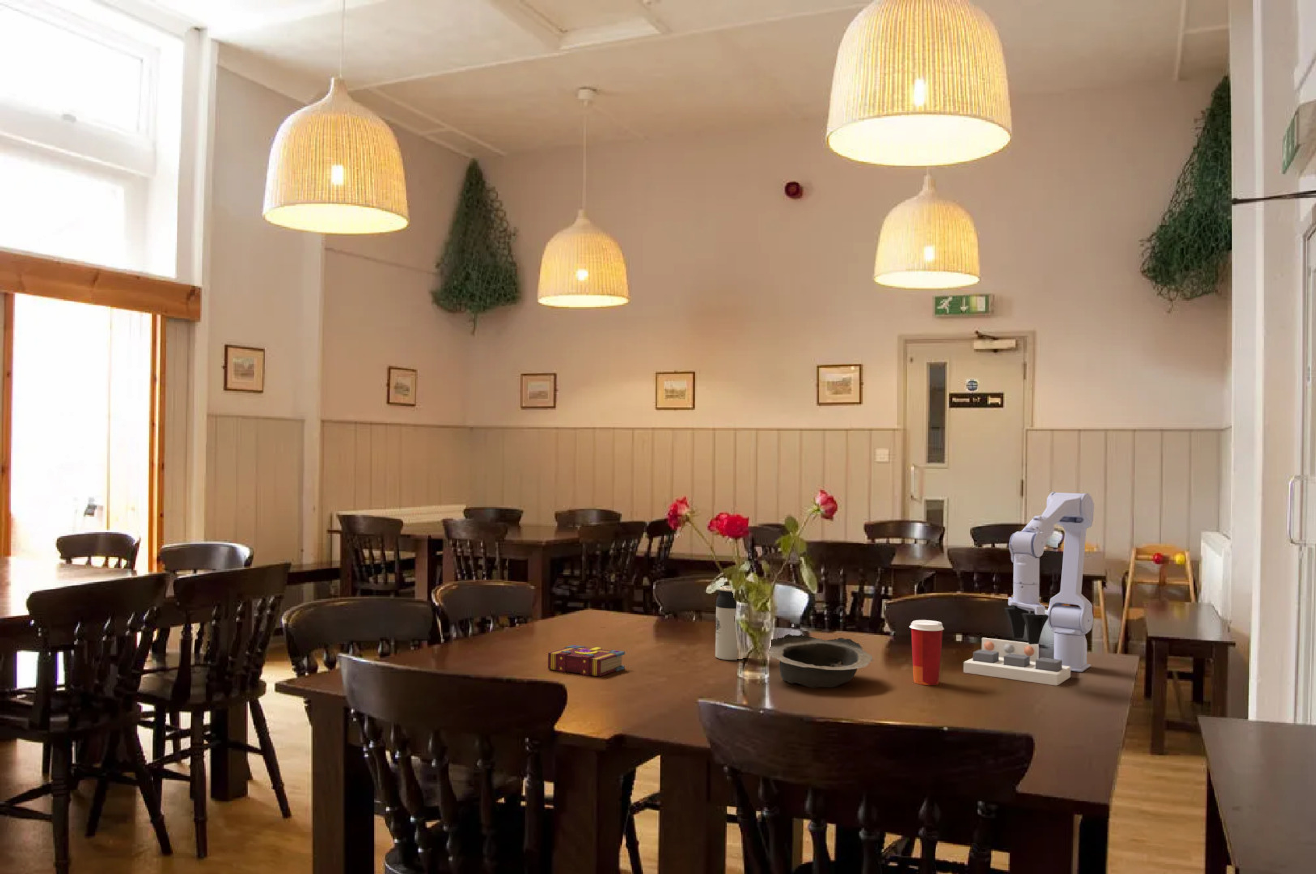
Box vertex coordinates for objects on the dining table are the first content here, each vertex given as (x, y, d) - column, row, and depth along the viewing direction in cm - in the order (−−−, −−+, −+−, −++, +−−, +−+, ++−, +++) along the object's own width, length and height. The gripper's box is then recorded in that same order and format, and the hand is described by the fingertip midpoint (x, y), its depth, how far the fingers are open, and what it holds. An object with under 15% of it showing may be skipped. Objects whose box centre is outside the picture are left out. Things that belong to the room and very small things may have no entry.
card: (982, 660, 265) (983, 637, 265) (1038, 668, 256) (1038, 644, 257) (980, 661, 264) (981, 638, 264) (1036, 669, 255) (1037, 645, 255)
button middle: (1009, 665, 252) (1009, 653, 252) (1029, 667, 249) (1029, 655, 249) (1003, 668, 248) (1003, 656, 248) (1023, 671, 245) (1024, 658, 245)
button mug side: (979, 661, 256) (979, 649, 256) (998, 663, 253) (998, 652, 253) (972, 664, 252) (973, 652, 252) (992, 666, 249) (992, 654, 249)
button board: (979, 664, 260) (979, 654, 260) (1070, 677, 247) (1070, 666, 247) (963, 672, 250) (963, 662, 250) (1057, 685, 237) (1057, 674, 237)
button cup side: (1041, 669, 247) (1041, 657, 247) (1061, 672, 245) (1061, 660, 245) (1035, 672, 243) (1035, 660, 243) (1056, 675, 241) (1056, 663, 241)
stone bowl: (798, 664, 255) (801, 627, 255) (889, 688, 239) (893, 649, 239) (741, 678, 236) (745, 638, 236) (837, 705, 220) (841, 662, 220)
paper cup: (947, 681, 239) (947, 621, 239) (938, 688, 233) (938, 626, 233) (914, 677, 243) (914, 618, 243) (904, 683, 237) (905, 622, 237)
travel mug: (746, 655, 266) (747, 586, 267) (746, 661, 259) (747, 590, 259) (715, 654, 267) (717, 585, 268) (714, 660, 259) (715, 589, 260)
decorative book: (599, 678, 237) (600, 657, 237) (542, 670, 245) (543, 649, 245) (624, 670, 247) (625, 649, 247) (569, 662, 255) (569, 642, 255)
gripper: (996, 579, 248) (995, 635, 247) (1024, 587, 233) (1023, 647, 233) (1024, 579, 248) (1023, 635, 248) (1053, 587, 234) (1053, 646, 234)
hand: (1025, 641), depth 241 cm, fingers open, 7 cm apart
